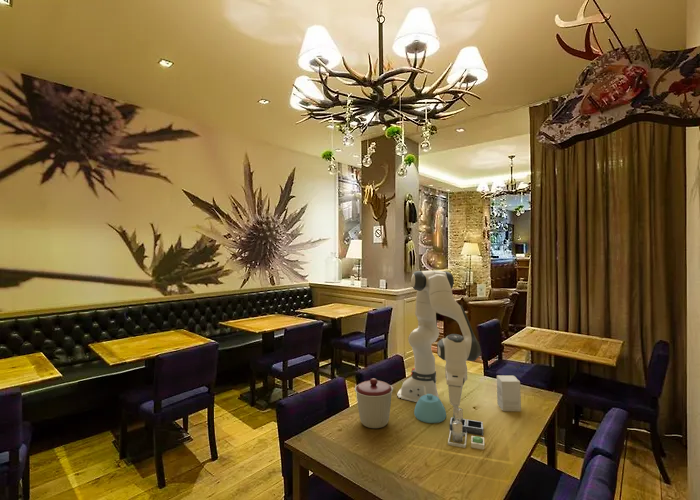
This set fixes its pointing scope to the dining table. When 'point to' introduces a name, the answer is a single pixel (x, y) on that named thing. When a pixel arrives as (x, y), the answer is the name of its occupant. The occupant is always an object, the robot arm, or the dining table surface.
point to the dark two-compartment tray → (470, 426)
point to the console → (477, 444)
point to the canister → (374, 402)
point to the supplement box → (508, 393)
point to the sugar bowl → (430, 409)
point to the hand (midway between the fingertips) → (457, 407)
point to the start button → (477, 439)
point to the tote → (457, 443)
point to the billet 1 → (458, 415)
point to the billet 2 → (457, 431)
